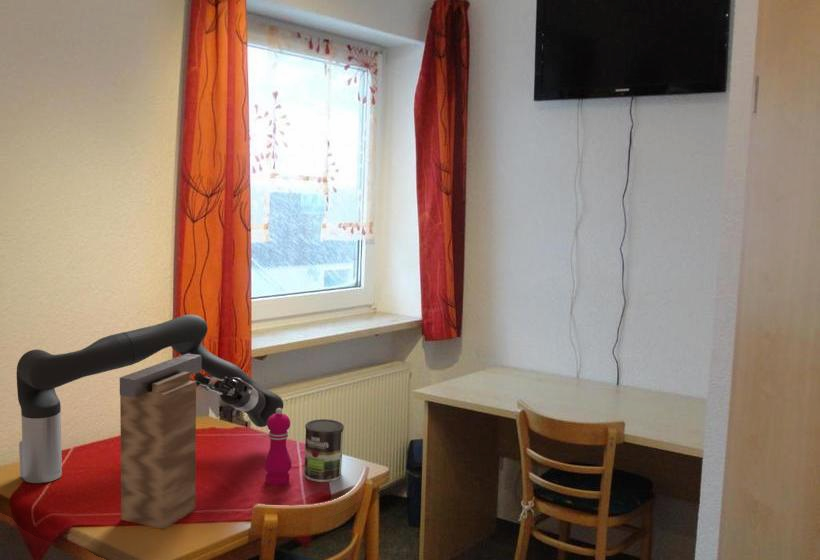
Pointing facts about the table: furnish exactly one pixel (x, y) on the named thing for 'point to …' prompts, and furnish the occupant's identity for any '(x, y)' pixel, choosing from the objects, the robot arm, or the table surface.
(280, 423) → the pepper mill
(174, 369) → the lever bar
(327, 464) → the coffee can
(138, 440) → the walnut stand
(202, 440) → the table surface
